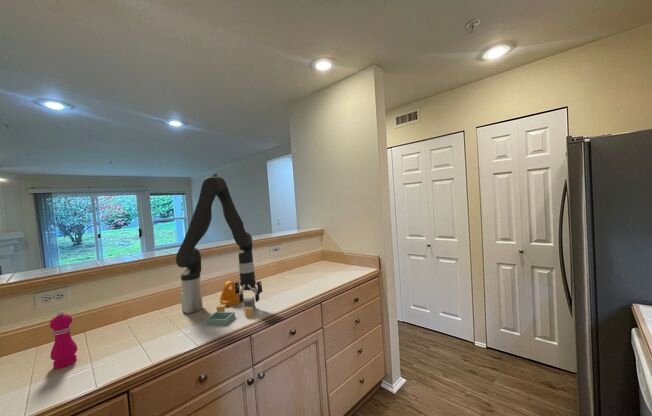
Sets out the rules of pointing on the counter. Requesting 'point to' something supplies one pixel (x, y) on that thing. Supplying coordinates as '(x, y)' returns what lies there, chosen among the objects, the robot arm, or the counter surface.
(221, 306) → the clip left
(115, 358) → the counter surface
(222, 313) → the tray
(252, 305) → the block
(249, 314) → the clip right
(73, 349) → the pepper mill
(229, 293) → the bracket
